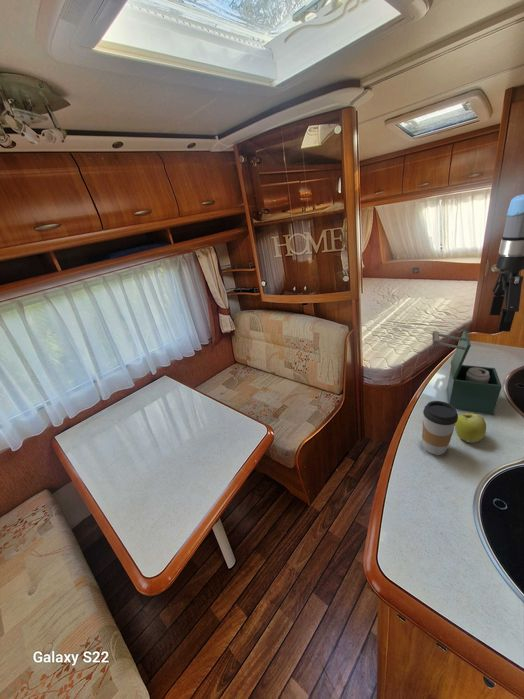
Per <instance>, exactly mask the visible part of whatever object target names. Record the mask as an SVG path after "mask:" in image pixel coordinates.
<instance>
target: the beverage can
mask: <svg viewBox="0 0 524 699" xmlns="http://www.w3.org/2000/svg"><path fill="white" fill-rule="evenodd" d="M489 378H490V375H489V372H488V371H487V370H485V369H483V368H478V367H473V368H470V369H469V371H467V373H466V378H465V381H472V382H480V383H488V382H489Z"/></svg>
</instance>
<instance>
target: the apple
mask: <svg viewBox="0 0 524 699" xmlns="http://www.w3.org/2000/svg"><path fill="white" fill-rule="evenodd" d="M454 429H455V432H456V434H457V437H459V438H460V439H461V440H463V441H465V442H467V443H477V442H479V441H481V440H482V439H483V438H484V436H485V434H486V431H487V423H486V421H485V419H484V418H483V417H482V416H481V415H480V414H478V413H475V412H463V413H461V414H458V420H457V422H456V423H455V426H454Z"/></svg>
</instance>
